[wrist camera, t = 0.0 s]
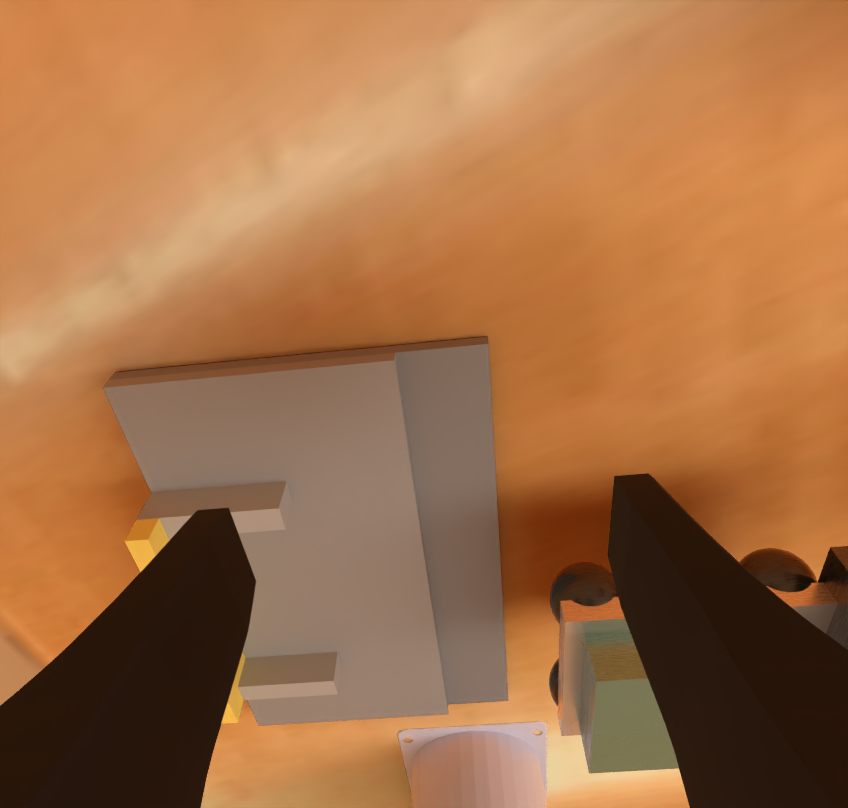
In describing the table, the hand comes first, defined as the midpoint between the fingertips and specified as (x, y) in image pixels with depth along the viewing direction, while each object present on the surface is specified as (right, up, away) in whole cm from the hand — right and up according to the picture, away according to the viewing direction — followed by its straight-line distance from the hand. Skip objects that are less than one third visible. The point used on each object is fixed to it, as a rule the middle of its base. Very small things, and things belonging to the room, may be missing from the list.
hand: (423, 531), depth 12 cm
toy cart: (+9, -5, +11) cm, 15 cm away
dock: (-3, -4, +14) cm, 15 cm away
